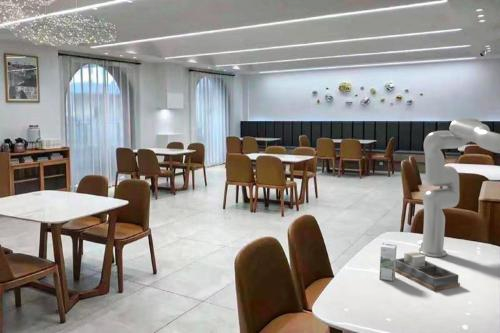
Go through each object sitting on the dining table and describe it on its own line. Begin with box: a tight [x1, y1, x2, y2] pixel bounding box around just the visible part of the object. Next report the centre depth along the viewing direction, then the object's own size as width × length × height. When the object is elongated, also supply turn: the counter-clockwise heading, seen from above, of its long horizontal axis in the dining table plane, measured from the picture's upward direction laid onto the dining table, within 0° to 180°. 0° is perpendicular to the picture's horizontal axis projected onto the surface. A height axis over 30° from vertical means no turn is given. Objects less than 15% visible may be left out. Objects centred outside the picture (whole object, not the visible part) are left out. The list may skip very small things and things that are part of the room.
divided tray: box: [395, 251, 461, 292], centre depth 186 cm, size 25×14×8 cm, turn 22°
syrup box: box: [379, 242, 398, 282], centre depth 184 cm, size 6×6×14 cm
